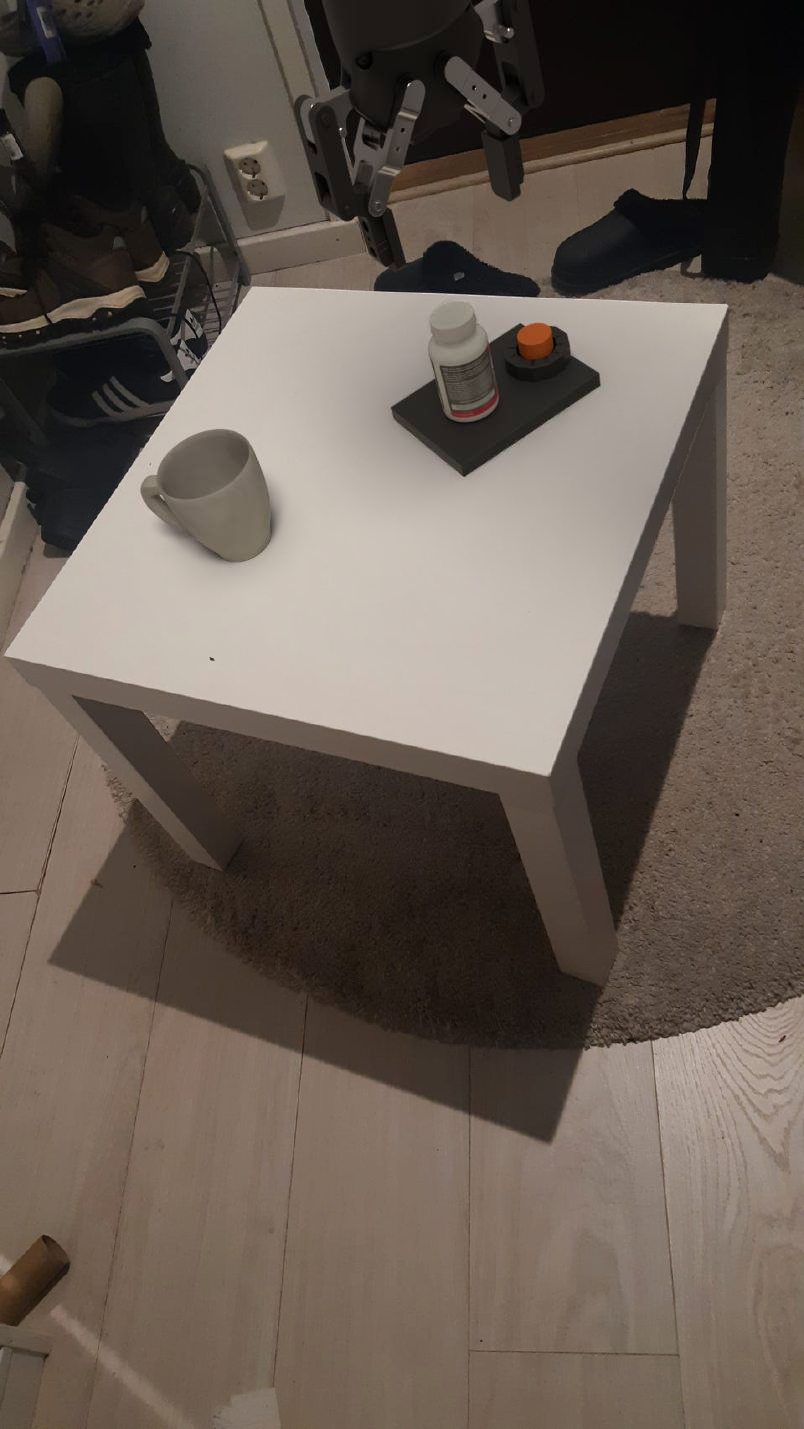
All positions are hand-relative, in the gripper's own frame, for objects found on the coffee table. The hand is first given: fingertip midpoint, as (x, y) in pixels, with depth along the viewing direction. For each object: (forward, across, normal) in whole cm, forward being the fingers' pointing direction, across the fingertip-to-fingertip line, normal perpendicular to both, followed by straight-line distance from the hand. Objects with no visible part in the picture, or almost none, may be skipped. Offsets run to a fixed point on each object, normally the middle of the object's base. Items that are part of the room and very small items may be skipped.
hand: (451, 230), depth 60 cm
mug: (+28, -19, +21) cm, 40 cm away
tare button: (+26, +15, +17) cm, 35 cm away
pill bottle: (+27, +7, +17) cm, 33 cm away
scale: (+28, +9, +17) cm, 35 cm away
